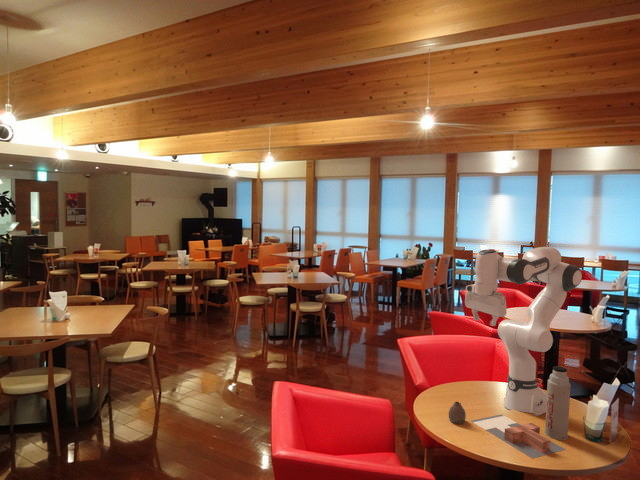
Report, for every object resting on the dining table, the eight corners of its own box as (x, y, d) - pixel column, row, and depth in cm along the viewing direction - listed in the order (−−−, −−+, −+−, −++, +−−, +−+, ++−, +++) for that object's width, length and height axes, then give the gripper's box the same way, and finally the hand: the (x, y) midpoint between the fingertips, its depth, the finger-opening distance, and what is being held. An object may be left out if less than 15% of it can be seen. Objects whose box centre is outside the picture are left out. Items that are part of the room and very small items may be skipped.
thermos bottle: (550, 442, 177) (554, 371, 175) (541, 432, 185) (544, 364, 183) (571, 442, 177) (575, 371, 175) (561, 432, 185) (565, 364, 183)
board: (501, 416, 198) (501, 414, 198) (565, 452, 170) (566, 449, 170) (470, 423, 192) (470, 420, 192) (532, 461, 163) (532, 458, 163)
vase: (466, 428, 187) (467, 407, 187) (448, 426, 189) (449, 405, 188) (464, 420, 194) (465, 400, 193) (447, 418, 195) (448, 398, 195)
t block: (530, 432, 182) (531, 422, 182) (559, 448, 170) (560, 437, 170) (504, 438, 177) (504, 428, 176) (532, 455, 165) (532, 444, 164)
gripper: (511, 293, 179) (509, 328, 180) (474, 285, 197) (473, 316, 198) (498, 294, 176) (497, 329, 177) (463, 285, 195) (461, 317, 196)
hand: (484, 322), depth 188 cm, fingers open, 8 cm apart
